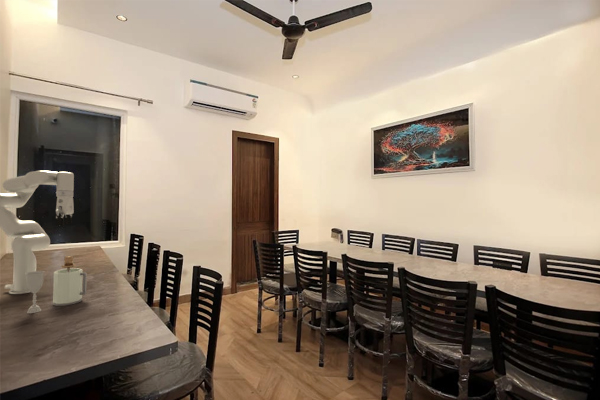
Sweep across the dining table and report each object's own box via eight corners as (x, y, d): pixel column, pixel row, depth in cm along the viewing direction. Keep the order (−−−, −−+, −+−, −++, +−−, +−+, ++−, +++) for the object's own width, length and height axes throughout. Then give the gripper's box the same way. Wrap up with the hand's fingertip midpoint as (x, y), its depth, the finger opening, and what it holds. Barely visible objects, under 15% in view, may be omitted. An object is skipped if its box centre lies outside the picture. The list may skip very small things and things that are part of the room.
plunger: (58, 300, 148) (59, 257, 149) (63, 297, 154) (64, 255, 154) (71, 299, 150) (72, 257, 150) (76, 296, 155) (77, 255, 156)
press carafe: (48, 306, 145) (49, 273, 145) (59, 299, 156) (60, 268, 156) (80, 304, 149) (81, 272, 149) (89, 297, 160) (90, 267, 160)
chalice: (47, 309, 141) (48, 271, 141) (30, 314, 134) (31, 275, 134) (37, 307, 143) (38, 270, 143) (20, 312, 137) (21, 273, 137)
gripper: (65, 193, 159) (65, 225, 159) (79, 194, 175) (78, 223, 175) (48, 193, 157) (48, 226, 156) (64, 194, 173) (63, 223, 173)
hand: (64, 224), depth 166 cm, fingers open, 9 cm apart
